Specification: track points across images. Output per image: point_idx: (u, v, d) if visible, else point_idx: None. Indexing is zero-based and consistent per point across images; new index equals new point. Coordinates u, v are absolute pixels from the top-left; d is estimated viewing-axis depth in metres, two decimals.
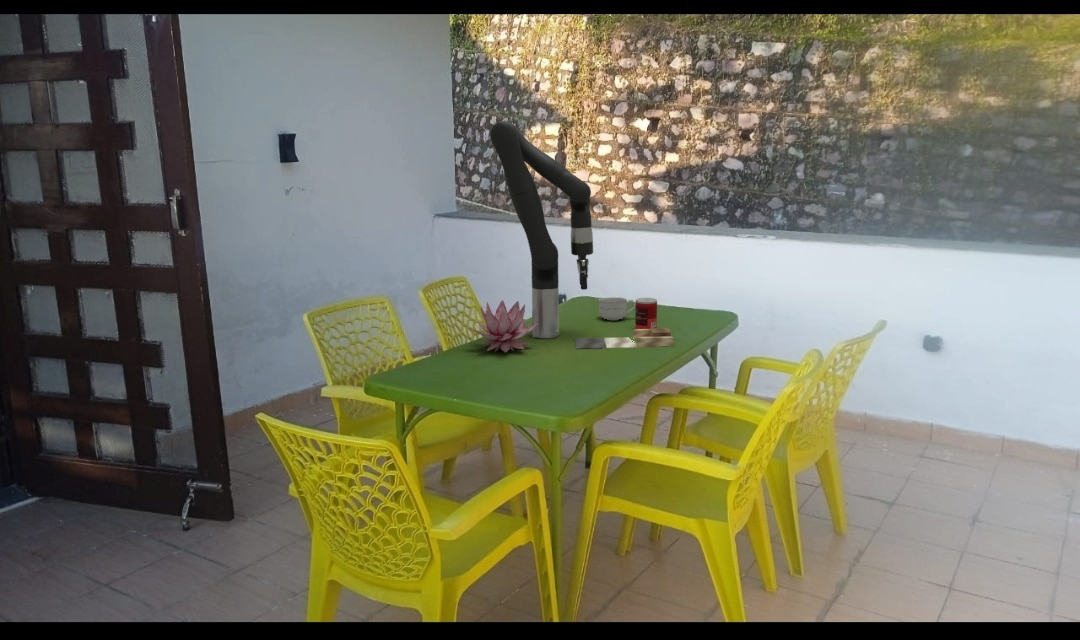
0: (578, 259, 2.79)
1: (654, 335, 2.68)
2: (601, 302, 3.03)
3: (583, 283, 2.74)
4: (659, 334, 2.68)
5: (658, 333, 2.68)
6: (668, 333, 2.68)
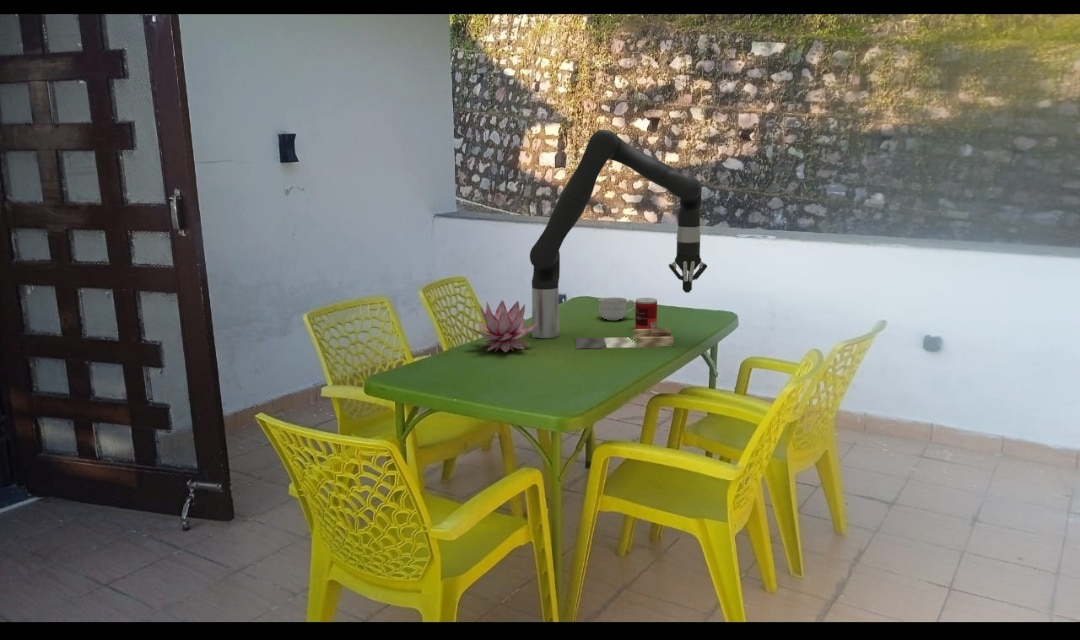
0: (684, 260, 2.64)
1: (654, 335, 2.68)
2: (601, 302, 3.03)
3: None
4: (659, 334, 2.68)
5: (658, 333, 2.68)
6: (668, 333, 2.68)
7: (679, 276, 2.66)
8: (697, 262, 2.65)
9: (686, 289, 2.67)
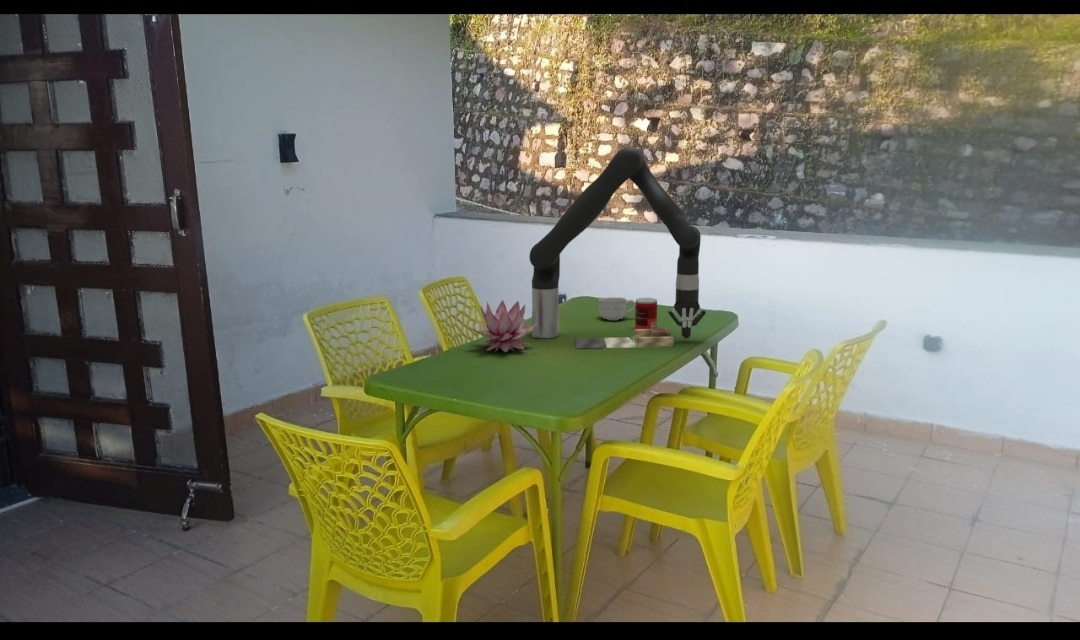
0: (683, 307, 2.68)
1: (654, 335, 2.68)
2: (601, 302, 3.03)
3: None
4: (659, 334, 2.68)
5: (658, 333, 2.68)
6: (668, 333, 2.68)
7: (678, 322, 2.69)
8: (696, 309, 2.68)
9: (685, 335, 2.70)
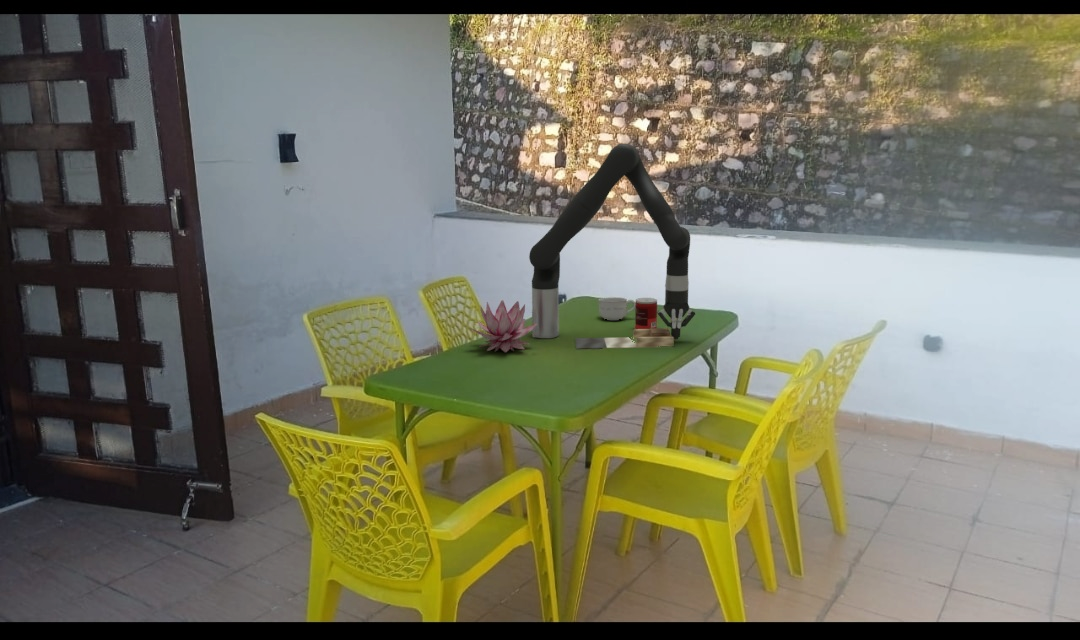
0: (672, 308, 2.68)
1: (653, 335, 2.68)
2: (601, 302, 3.03)
3: None
4: (658, 334, 2.68)
5: (657, 333, 2.68)
6: (667, 333, 2.68)
7: (668, 323, 2.69)
8: (685, 310, 2.68)
9: (674, 336, 2.70)
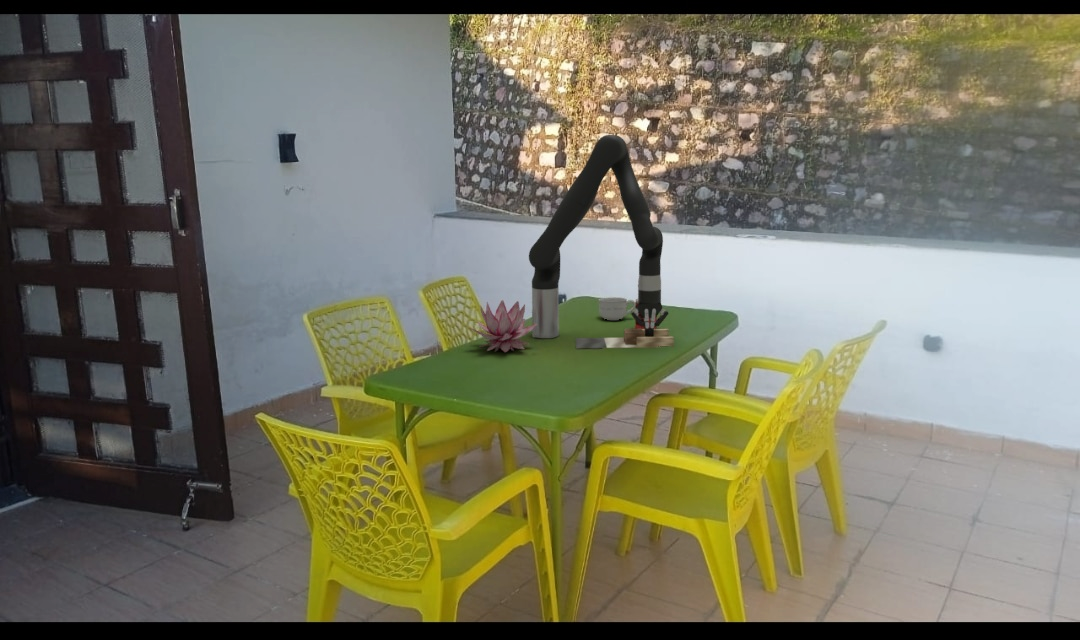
0: (645, 308, 2.68)
1: (627, 335, 2.68)
2: (601, 302, 3.03)
3: (653, 332, 2.71)
4: (632, 334, 2.68)
5: (631, 333, 2.68)
6: (641, 333, 2.68)
7: (641, 323, 2.69)
8: (658, 309, 2.68)
9: (648, 336, 2.70)
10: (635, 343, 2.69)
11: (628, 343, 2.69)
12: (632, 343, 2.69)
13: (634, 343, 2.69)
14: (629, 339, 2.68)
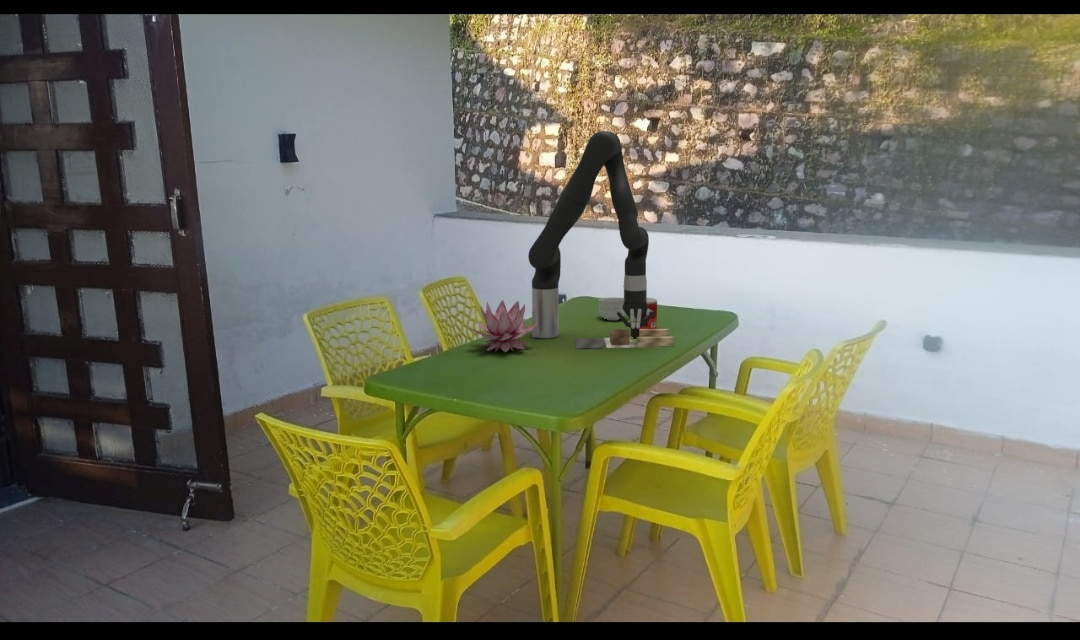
0: (631, 308, 2.68)
1: (613, 336, 2.68)
2: (601, 302, 3.03)
3: None
4: (618, 335, 2.68)
5: (617, 334, 2.68)
6: (627, 334, 2.68)
7: (626, 323, 2.69)
8: (644, 309, 2.68)
9: (634, 336, 2.70)
10: (620, 344, 2.69)
11: (614, 343, 2.69)
12: (618, 343, 2.69)
13: (620, 343, 2.69)
14: (615, 339, 2.68)
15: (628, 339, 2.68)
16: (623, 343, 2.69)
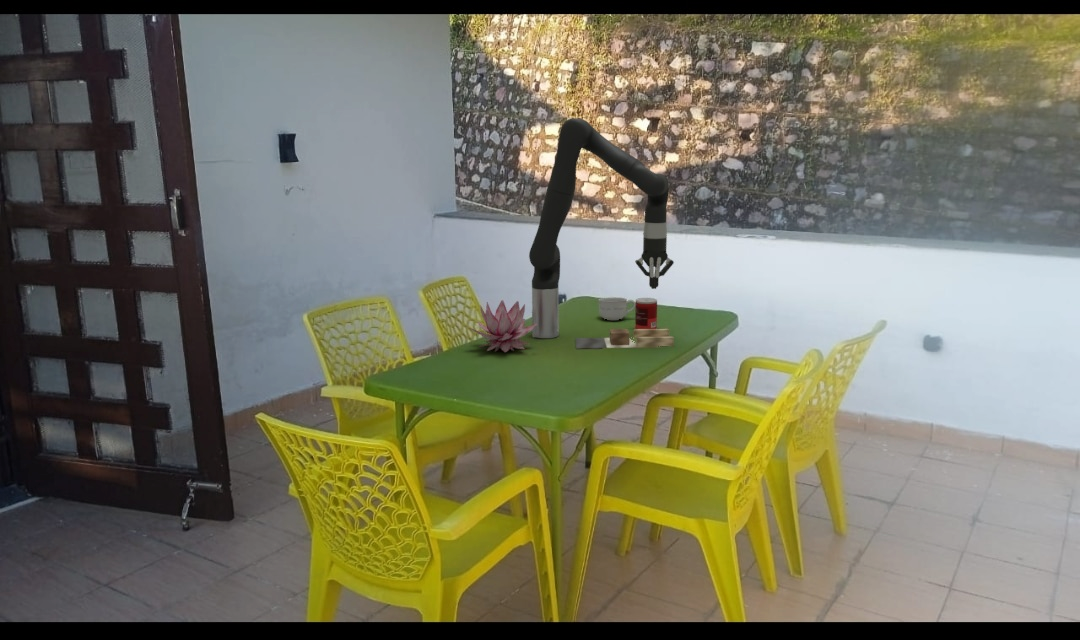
0: (650, 257, 2.64)
1: (613, 336, 2.68)
2: (601, 302, 3.03)
3: None
4: (618, 335, 2.68)
5: (617, 334, 2.68)
6: (627, 334, 2.68)
7: (645, 272, 2.65)
8: (663, 258, 2.64)
9: (652, 285, 2.66)
10: (620, 344, 2.69)
11: (614, 343, 2.69)
12: (618, 343, 2.69)
13: (620, 343, 2.69)
14: (615, 339, 2.68)
15: (628, 339, 2.68)
16: (623, 343, 2.69)
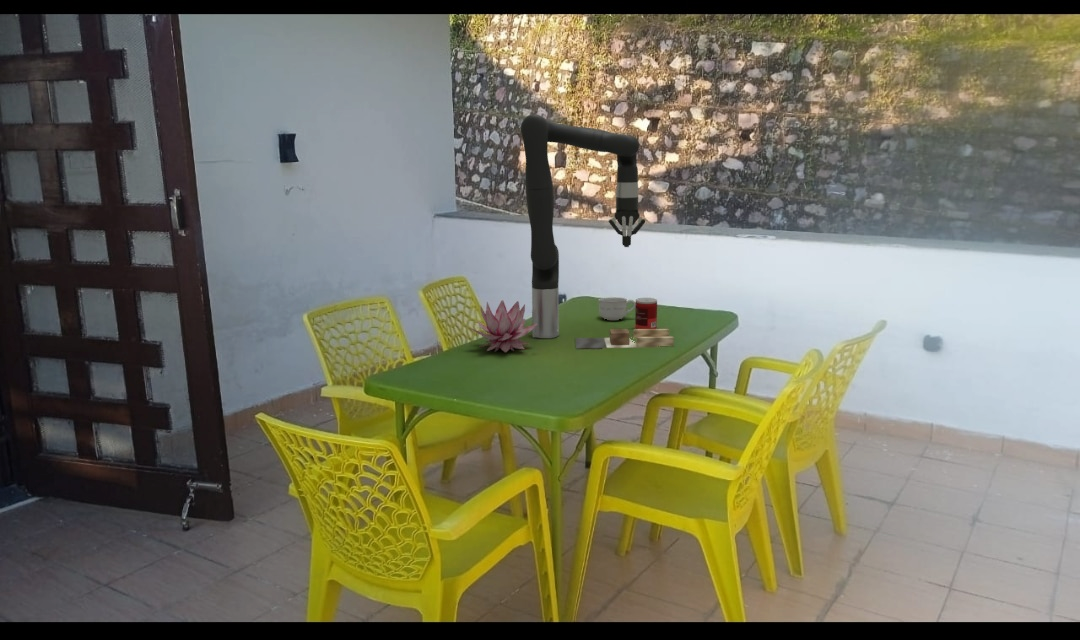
0: (623, 216, 2.73)
1: (613, 336, 2.68)
2: (601, 302, 3.03)
3: (630, 240, 2.76)
4: (618, 335, 2.68)
5: (617, 334, 2.68)
6: (627, 334, 2.68)
7: (618, 231, 2.74)
8: (635, 217, 2.73)
9: (625, 244, 2.75)
10: (620, 344, 2.69)
11: (614, 343, 2.69)
12: (618, 343, 2.69)
13: (620, 343, 2.69)
14: (615, 339, 2.68)
15: (628, 339, 2.68)
16: (623, 343, 2.69)
